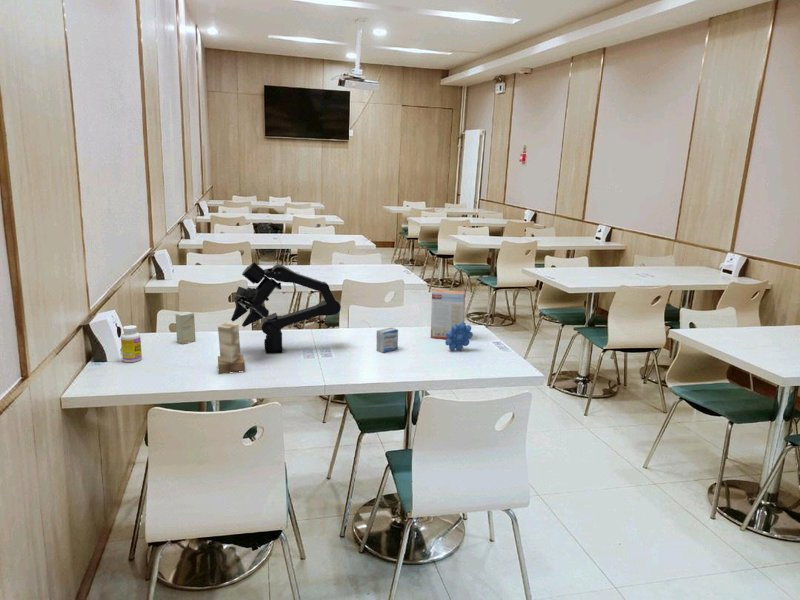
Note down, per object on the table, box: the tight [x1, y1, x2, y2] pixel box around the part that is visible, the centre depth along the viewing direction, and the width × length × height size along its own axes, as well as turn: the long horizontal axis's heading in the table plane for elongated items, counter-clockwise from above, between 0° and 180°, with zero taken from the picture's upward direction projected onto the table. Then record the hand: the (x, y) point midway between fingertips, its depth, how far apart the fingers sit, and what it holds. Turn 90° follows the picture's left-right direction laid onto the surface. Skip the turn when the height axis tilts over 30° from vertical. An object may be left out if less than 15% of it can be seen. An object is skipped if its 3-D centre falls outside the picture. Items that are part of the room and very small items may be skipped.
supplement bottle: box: [120, 324, 143, 363], centre depth 219 cm, size 7×7×13 cm
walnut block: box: [217, 353, 246, 374], centre depth 214 cm, size 9×9×4 cm
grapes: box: [444, 321, 474, 351], centre depth 240 cm, size 12×7×12 cm, turn 103°
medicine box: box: [376, 327, 399, 354], centre depth 238 cm, size 8×4×9 cm, turn 131°
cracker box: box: [430, 289, 466, 340], centre depth 255 cm, size 14×6×21 cm, turn 77°
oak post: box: [217, 321, 242, 363], centre depth 211 cm, size 5×5×13 cm
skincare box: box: [174, 311, 196, 345], centre depth 242 cm, size 6×4×12 cm
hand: (237, 323), depth 223 cm, fingers open, 9 cm apart
